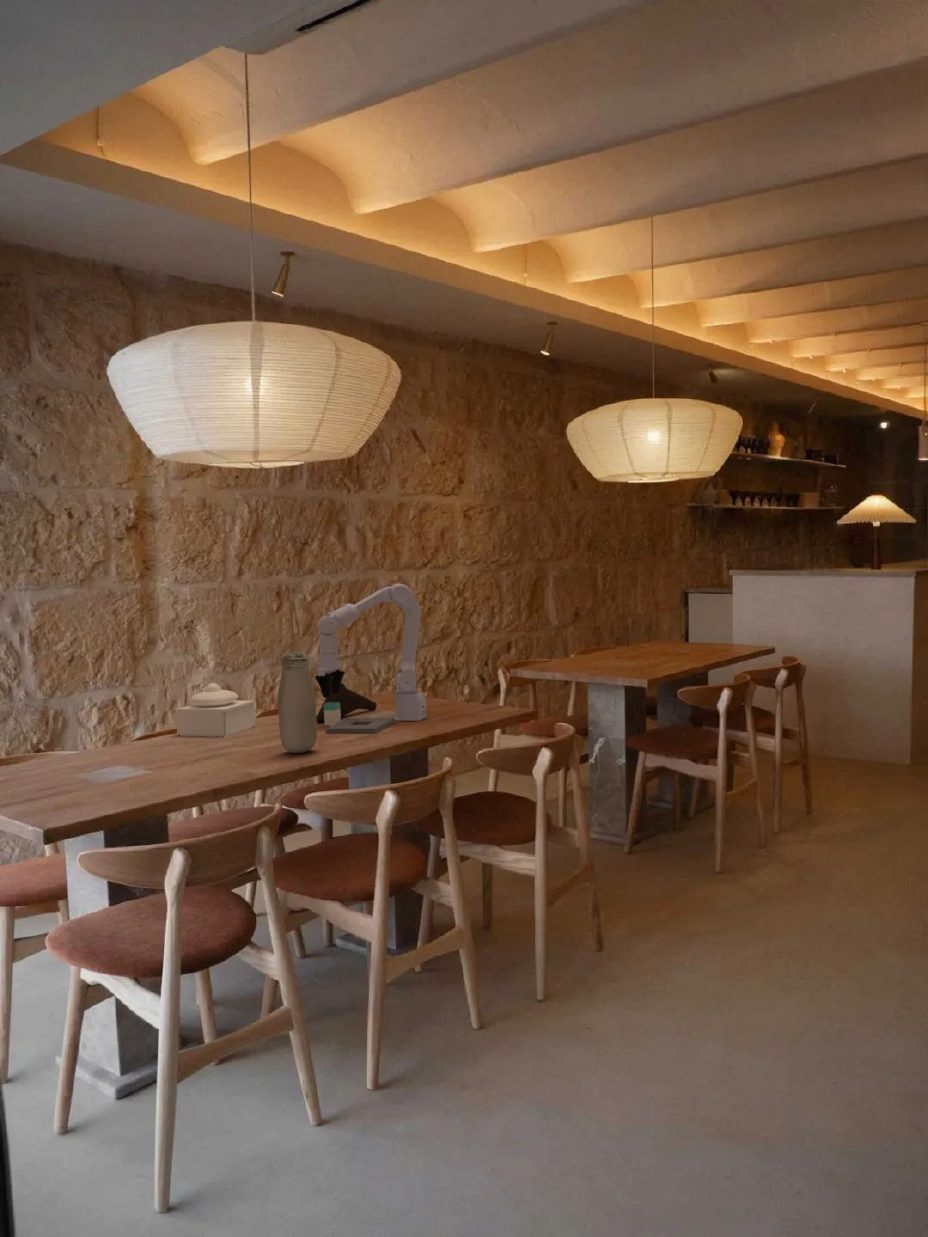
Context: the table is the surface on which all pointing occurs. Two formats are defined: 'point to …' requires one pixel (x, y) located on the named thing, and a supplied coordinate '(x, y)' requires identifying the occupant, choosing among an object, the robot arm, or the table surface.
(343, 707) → the holster
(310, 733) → the glass bottle
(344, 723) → the port plate
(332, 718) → the plug
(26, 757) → the table surface
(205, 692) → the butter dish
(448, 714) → the table surface
